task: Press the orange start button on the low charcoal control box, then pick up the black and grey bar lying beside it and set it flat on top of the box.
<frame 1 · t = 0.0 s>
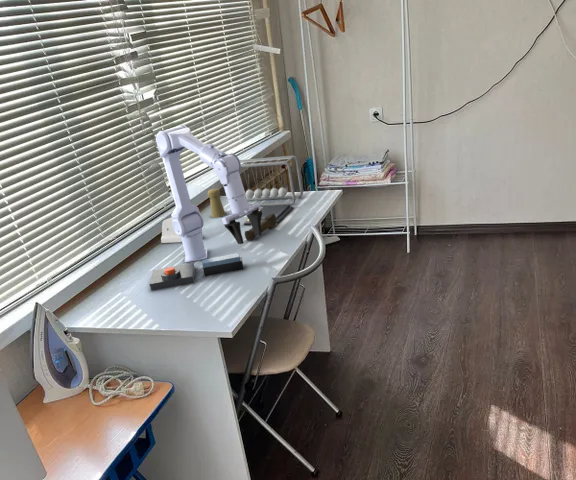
hand: (249, 239, 191), 11 cm above the table, tool pointing down, fingers open, 7 cm apart
cork: (218, 215, 260), on the table
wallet: (269, 216, 247), on the table, touching hand tool
hand tool: (262, 232, 230), on the table, touching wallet
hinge: (183, 239, 239), on the table
newton's cradle: (268, 203, 264), on the table
black and grey bar: (224, 271, 201), on the table
control box: (174, 279, 202), on the table
start button: (169, 271, 196), point 4 cm above the table, slide at 0.1 cm
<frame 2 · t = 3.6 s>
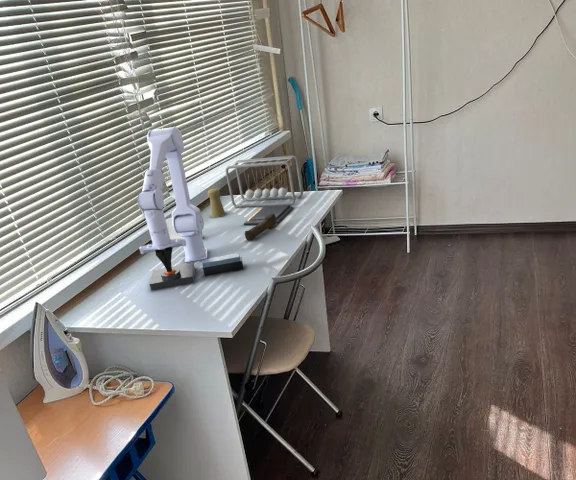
hand: (169, 270, 196), 5 cm above the table, tool pointing down, fingers closed, pressing on start button
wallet: (269, 216, 247), on the table
hand tool: (262, 232, 230), on the table
start button: (170, 272, 197), point 4 cm above the table, slide at -0.5 cm, touching gripper
everything else where it was.
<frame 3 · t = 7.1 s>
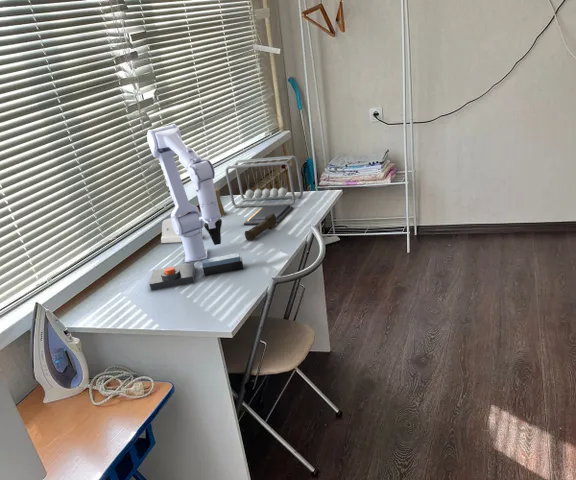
hand: (217, 243, 196), 9 cm above the table, tool pointing down, fingers closed
start button: (169, 271, 196), point 4 cm above the table, slide at 0.1 cm
everything else where it was.
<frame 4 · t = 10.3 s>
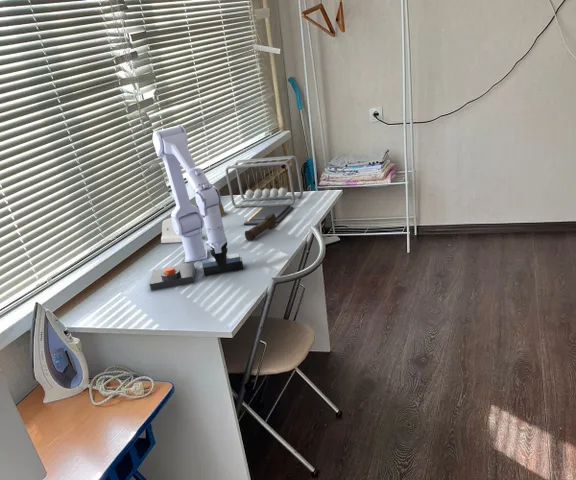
hand: (223, 267, 200), 1 cm above the table, tool pointing down, fingers closed on black and grey bar, 4 cm apart
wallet: (269, 216, 247), on the table, touching hand tool
hand tool: (262, 232, 230), on the table, touching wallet
black and grey bar: (224, 271, 201), on the table, touching gripper
everything else where it was.
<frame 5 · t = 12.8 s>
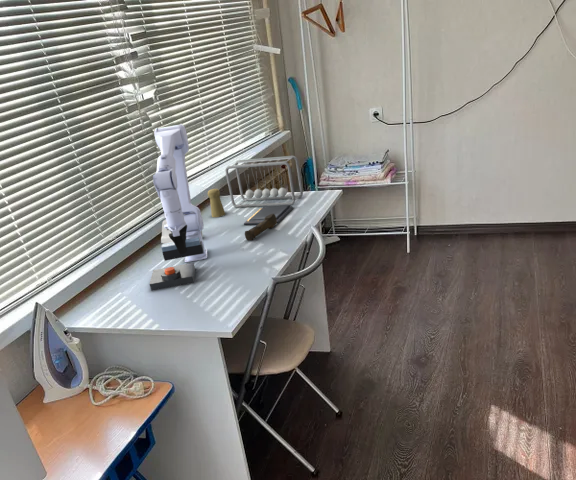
hand: (183, 251, 199), 8 cm above the table, tool pointing down, fingers closed on black and grey bar, 4 cm apart
black and grey bar: (184, 255, 200), point 7 cm above the table, touching gripper
everything else where it was.
when the fingers open (4 cm above the table, at t = 15.1 s): black and grey bar stays where it is, resting on control box.
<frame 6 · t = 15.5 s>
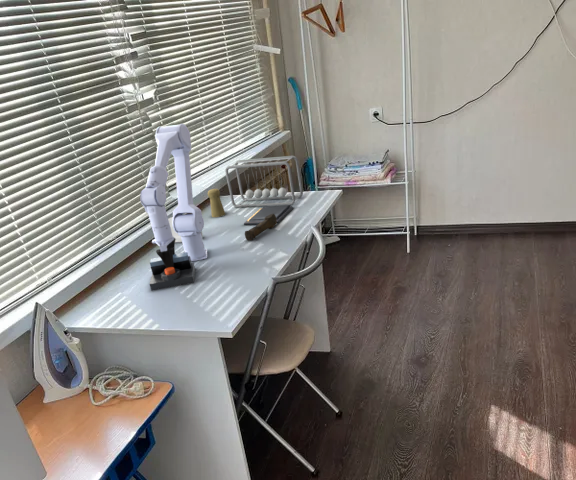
hand: (171, 265, 202), 4 cm above the table, tool pointing down, fingers open, 7 cm apart
black and grey bar: (172, 269, 203), point 2 cm above the table, touching control box
everything else where it was.
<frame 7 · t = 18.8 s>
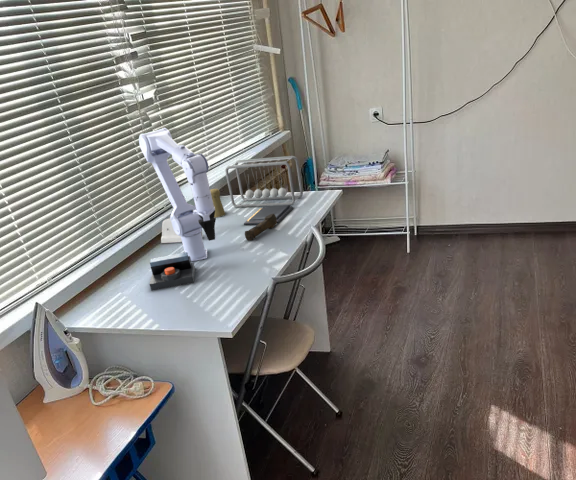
hand: (211, 236, 201), 10 cm above the table, tool pointing down, fingers open, 7 cm apart
nothing on the table moved.
at the end: start button pushed in 1.0 cm at the most during the clip, back to where it started at the end; start button slide at 0.1 cm; black and grey bar inside the target area on the control box (0.2 cm from its centre), point 2.4 cm above the control box's base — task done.
